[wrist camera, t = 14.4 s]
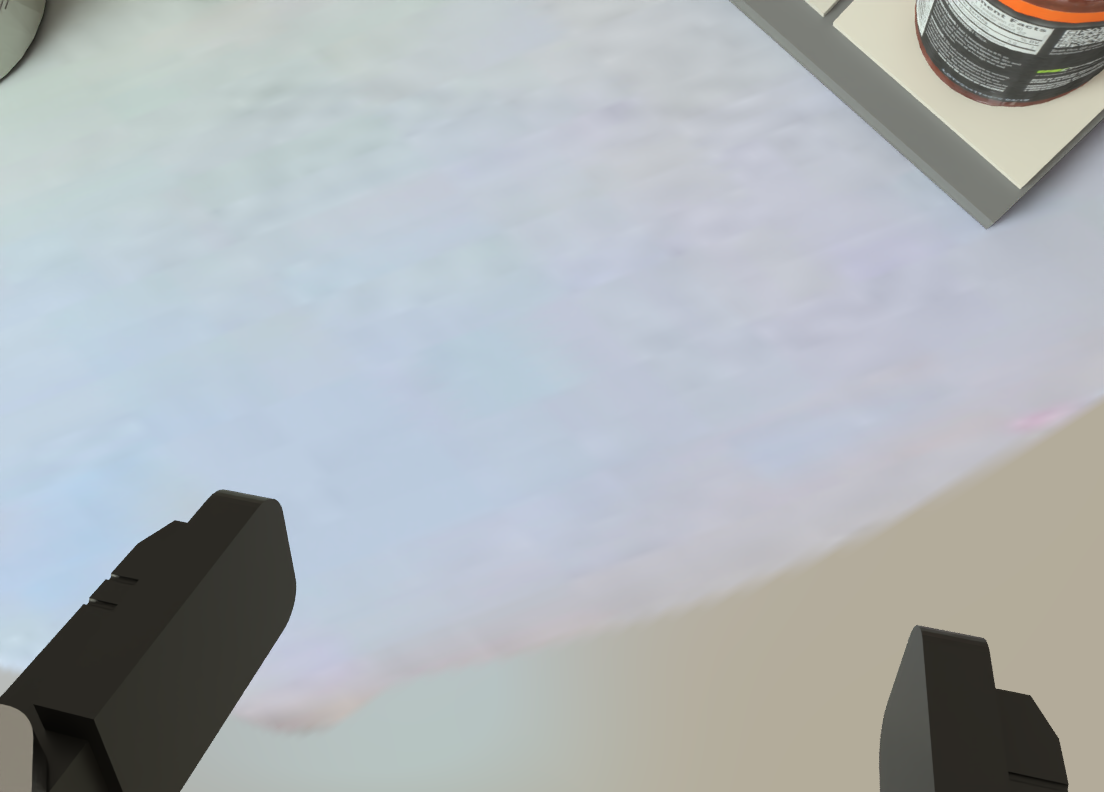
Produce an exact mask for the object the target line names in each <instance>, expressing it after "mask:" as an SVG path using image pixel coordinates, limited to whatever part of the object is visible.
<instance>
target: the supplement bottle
mask: <svg viewBox="0 0 1104 792" xmlns="http://www.w3.org/2000/svg"><path fill="white" fill-rule="evenodd" d="M915 28H916V35H917V39H918V41H919V46H920V49H921V51H922V54H923V56H924V57H925V60H926V61H927V63H928V64H929V66H930V68H931V69H932V70H933V71H934V73H935V74H936V75H937V76H938V77H939V78H940V79H941V80H942V81H943V82H944V83H945V84H946V85H948V86H949V87H950V88H951V89H953V90H954V91H956V92H958V93H960V94H961V95H963V96H965V97H966V98H969V99H971V100H974V101H976V102H979V103H983V104H986V105H990V106H1004V107H1026V106H1031V105H1037V104H1042V103H1045V102H1049V101H1051V100H1054V99H1057V98H1059V97H1062V96H1065V95H1067V94H1069V93H1070V92H1072V91H1074V90H1076V89H1078V88H1079V87H1081V86H1083V85H1084V84H1086V83H1087V82H1088V81H1090V80H1091V79H1092V78H1093V77H1094V76H1096V75H1097V74H1099V73H1100V72H1101V71H1102V70H1103V69H1104V0H916V3H915Z"/></svg>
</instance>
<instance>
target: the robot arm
mask: <svg viewBox="0 0 1104 792" xmlns="http://www.w3.org/2000/svg"><path fill="white" fill-rule="evenodd" d="M45 3H46V0H0V79H1V78H2V77H4V76H5V75H6V74H7V73H8V72H9V71H10V70H11V69H12V68H13V67H14V66H15V65H16V63H17V62H18V61H19V60H20V59H21V58H22V57H23V55H24V53H25V52H26V50H27V48H28V47H29V45H30V43H31V42H32V40H33V39H34V37H35V34H36V32H37V29H38V26H39V24H40V21H41V19H42V16H43V13H44V8H45ZM295 596H296V579H295V573H294V568H293V563H292V558H291V552H290V547H289V542H288V536H287V531H286V526H285V520H284V515H283V511H282V507H281V505H280V503H279V502H278V501H277V500H275V499H271V498H265V497H260V496H255V495H250V494H245V493H239V492H234V491H229V490H219V491H216V492H215V493H214V494H212V495H211V496H210V497H209V498H208V500H207V501H206V502H205V503H204V504H203V505H202V507H201V508H200V509H199V510H198V511H197V512H196V514H195V515H194V516H193V517H192V518H191V519H190V521H189V522H188V523H185V522H180V521H176V520H175V521H173V522H172V523H170V524H168V525H167V526H165V527H164V528H162V529H160V530H159V531H157V532H156V533H154V534H152V535H151V536H149V537H148V538H146V539H144V540H143V541H141V542H140V543H138V544H137V545H136V546H135V547H134V548H133V549H132V551H131V552H130V553H129V554H128V555H127V556H126V557H125V558H124V560H123V561H122V562H121V563H120V564H119V565H118V566H117V567H116V569H115V570H114V571H113V572H112V573H111V578H110V579H109V580H105V581H104V582H103V583H102V584H101V585H100V586H99V588H98V589H97V590H96V591H95V592H94V593H93V594H92V595H91V597H90V598H89V603H88V604H87V605H85V604H83V605H82V607H81V608H80V609H79V610H78V611H77V612H76V613H75V614H74V616H73V617H72V618H71V619H70V620H69V621H68V622H67V623H66V625H65V626H64V627H63V628H62V629H61V630H60V631H59V632H58V633H57V635H56V636H55V637H54V638H53V639H52V640H51V641H50V642H49V644H48V645H47V646H46V647H45V648H44V649H43V650H42V651H41V653H40V654H39V655H38V656H37V657H36V658H35V659H34V660H33V661H32V663H31V664H30V665H29V666H28V667H27V668H26V669H25V670H24V672H23V673H22V674H21V675H20V676H19V677H18V678H17V679H16V681H15V682H14V683H13V684H12V685H11V686H10V687H9V688H8V690H7V691H6V692H5V693H4V694H3V695H2V696H1V697H0V792H180V791H181V789H182V788H183V786H184V785H185V783H186V781H187V780H188V778H189V777H190V775H191V774H192V772H193V771H194V769H195V767H196V766H197V764H198V763H199V761H200V760H201V758H202V757H203V755H204V753H205V752H206V750H207V749H208V747H209V746H210V744H211V743H212V741H213V739H214V738H215V736H216V735H217V733H218V732H219V730H220V728H221V727H222V725H223V724H224V722H225V721H226V719H227V718H228V716H229V714H230V713H231V711H232V710H233V708H234V707H235V705H236V703H237V702H238V700H239V699H240V697H241V696H242V694H243V693H244V691H245V689H246V688H247V686H248V685H249V683H250V682H251V680H252V679H253V677H254V675H255V674H256V672H257V671H258V669H259V668H260V666H261V664H262V663H263V661H264V660H265V658H266V657H267V655H268V654H269V652H270V650H271V649H272V647H273V646H274V644H275V643H276V641H277V639H278V638H279V636H280V635H281V633H282V632H283V630H284V628H285V627H286V625H287V623H288V621H289V618H290V616H291V613H292V610H293V606H294V602H295ZM879 770H880V792H1068V780H1067V775H1066V770H1065V765H1064V761H1063V756H1062V751H1061V746H1060V742H1059V738H1058V737H1057V735H1056V734H1055V732H1054V731H1053V729H1052V728H1051V726H1050V725H1049V723H1048V722H1047V720H1046V718H1045V717H1044V715H1043V714H1042V712H1041V711H1040V710H1039V708H1038V706H1037V705H1036V703H1035V702H1034V700H1033V699H1032V697H1031V696H1030V695H1025V694H1020V693H1016V692H1011V691H1006V690H1001V689H996V688H995V683H994V677H993V671H992V665H991V658H990V652H989V647H988V644H987V642H986V640H985V639H984V638H981V637H975V636H970V635H965V634H960V633H955V632H949V631H944V630H939V629H934V628H929V627H924V626H918V625H916V626H915V627H914V628H913V630H912V632H911V635H910V637H909V640H908V644H907V646H906V649H905V652H904V655H903V658H902V661H901V664H900V667H899V670H898V673H897V676H896V679H895V682H894V685H893V688H892V691H891V694H890V697H889V700H888V703H887V706H886V710H885V714H884V718H883V724H882V730H881V739H880V752H879Z"/></svg>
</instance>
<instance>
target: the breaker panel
mask: <svg viewBox="0 0 1104 792" xmlns="http://www.w3.org/2000/svg"><path fill="white" fill-rule="evenodd" d="M729 1H731V2H732V3H733V4H734V5H735V6H736V7H737V8H738V9H739V10H741V11H742V12H743V13H744V14H745V15H746V16H747V17H748V18H750V19H751V20H752V21H753V22H754V23H755V24H756V25H757V26H759V27H760V28H761V29H762V30H763V31H764V32H765V33H766V34H768V35H769V36H770V37H771V38H772V39H773V40H774V41H775V42H777V43H778V44H779V45H780V46H781V47H782V48H783V49H784V50H786V51H787V52H788V53H789V54H790V55H791V56H792V57H793V58H795V59H796V60H797V61H798V62H799V63H800V64H801V65H802V66H803V67H805V68H806V69H807V70H808V71H809V72H810V73H811V74H812V75H814V76H815V77H816V78H817V79H818V80H819V81H820V82H821V83H823V84H824V85H825V86H826V87H827V88H828V89H829V90H830V91H832V92H833V93H834V94H835V95H836V96H837V97H838V98H839V99H841V100H842V101H843V102H844V103H845V104H846V105H847V106H848V107H850V108H851V109H852V110H853V111H854V112H855V113H856V114H857V115H859V116H860V117H861V118H862V119H863V120H864V121H865V122H866V123H867V124H869V125H870V126H871V127H872V128H873V129H874V130H875V131H876V132H878V133H879V134H880V135H881V136H882V137H883V138H884V139H885V140H887V141H888V142H889V143H890V144H891V145H892V146H893V147H894V148H896V149H897V150H898V151H899V152H900V153H901V154H902V155H903V156H905V157H906V158H907V159H908V160H909V161H910V162H911V163H912V164H914V165H915V166H916V167H917V168H918V169H919V170H920V171H921V172H922V173H924V174H925V175H926V176H927V177H928V178H929V179H930V180H931V181H933V182H934V183H935V184H936V185H937V186H938V187H939V188H940V189H942V190H943V191H944V192H945V193H946V194H947V195H948V196H949V197H951V198H952V199H953V200H954V201H955V202H956V203H957V204H958V205H960V206H961V207H962V208H963V209H964V210H965V211H966V212H967V213H969V214H970V215H971V216H972V217H973V218H974V219H975V220H976V221H978V222H979V223H980V224H981V225H982V226H983V227H984V228H985V229H986V230H987V229H988V228H989V227H990V226H992V225H993V224H994V223H995V222H996V221H997V220H998V219H999V218H1000V217H1001V216H1002V215H1004V214H1005V213H1006V212H1007V211H1008V210H1009V209H1010V208H1011V207H1012V206H1013V205H1014V204H1015V203H1016V202H1017V201H1018V200H1019V199H1020V198H1021V197H1022V196H1023V195H1024V194H1025V193H1026V192H1027V191H1028V190H1029V189H1031V188H1032V187H1033V186H1034V185H1035V184H1036V183H1037V182H1038V181H1039V180H1040V179H1041V178H1042V177H1043V176H1044V175H1045V174H1046V173H1047V172H1048V171H1049V170H1050V169H1051V168H1052V167H1053V166H1054V165H1055V164H1056V163H1057V162H1059V161H1060V160H1061V159H1062V158H1063V157H1064V156H1065V155H1066V154H1067V153H1068V152H1069V151H1070V150H1071V149H1072V148H1073V147H1074V146H1075V145H1076V144H1077V143H1078V142H1079V141H1080V140H1081V139H1082V138H1083V137H1084V136H1086V135H1087V134H1088V133H1089V132H1090V131H1091V130H1092V129H1093V128H1094V127H1095V126H1096V125H1097V124H1098V123H1099V122H1100V121H1101V120H1102V119H1103V118H1104V69H1103V70H1102V71H1101V72H1100V73H1099V74H1097V75H1096V76H1094V77H1093V78H1092V79H1091V80H1090V81H1088V82H1087V83H1086V84H1084V85H1083V86H1081V87H1079V88H1078V89H1076V90H1074V91H1072V92H1070V93H1069V94H1067V95H1065V96H1062V97H1059V98H1057V99H1054V100H1051V101H1049V102H1045V103H1042V104H1037V105H1031V106H1026V107H1004V106H990V105H986V104H983V103H979V102H976V101H974V100H971V99H969V98H966V97H965V96H963V95H961V94H960V93H958V92H956V91H954V90H953V89H951V88H950V87H949V86H948V85H946V84H945V83H944V82H943V81H942V80H941V79H940V78H939V77H938V76H937V75H936V74H935V73H934V71H933V70H932V69H931V68H930V66H929V64H928V63H927V61H926V60H925V57H924V56H923V54H922V51H921V49H920V46H919V41H918V39H917V35H916V28H915V3H916V0H729Z"/></svg>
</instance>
